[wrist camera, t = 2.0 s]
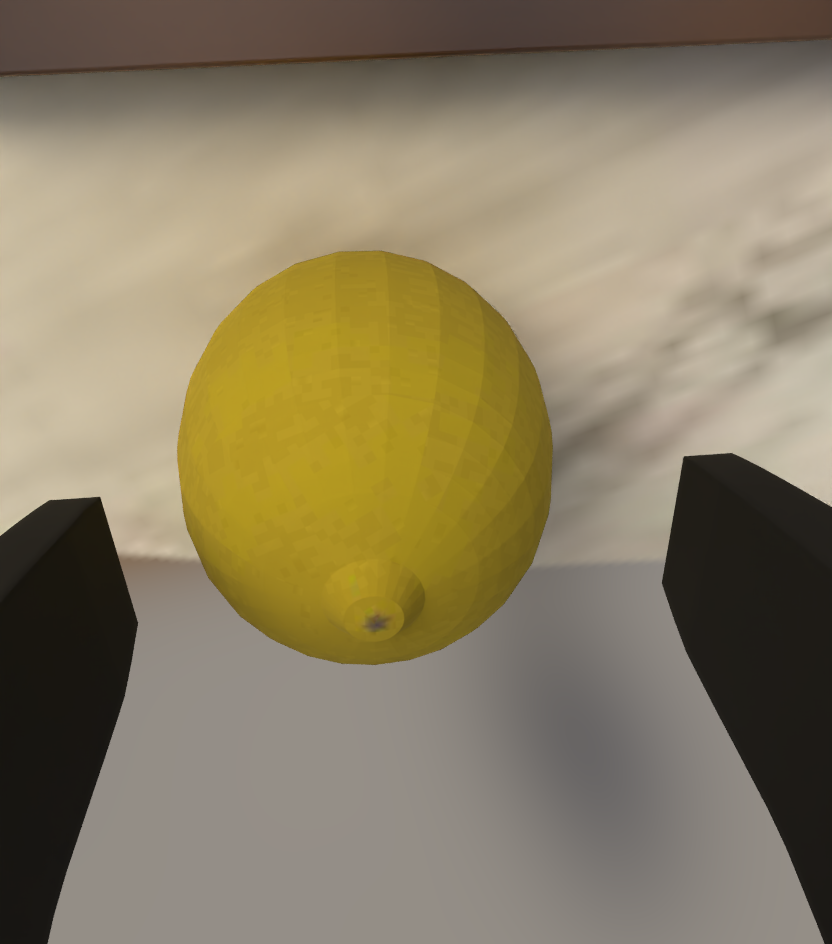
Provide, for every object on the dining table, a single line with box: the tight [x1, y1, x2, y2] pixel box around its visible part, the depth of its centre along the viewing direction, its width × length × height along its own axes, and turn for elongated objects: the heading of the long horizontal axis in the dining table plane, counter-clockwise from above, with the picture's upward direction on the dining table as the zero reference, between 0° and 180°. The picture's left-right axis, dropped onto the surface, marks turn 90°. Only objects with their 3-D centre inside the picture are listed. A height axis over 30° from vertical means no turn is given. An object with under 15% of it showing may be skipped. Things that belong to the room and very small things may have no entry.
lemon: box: [177, 251, 553, 665], centre depth 12 cm, size 6×6×8 cm
